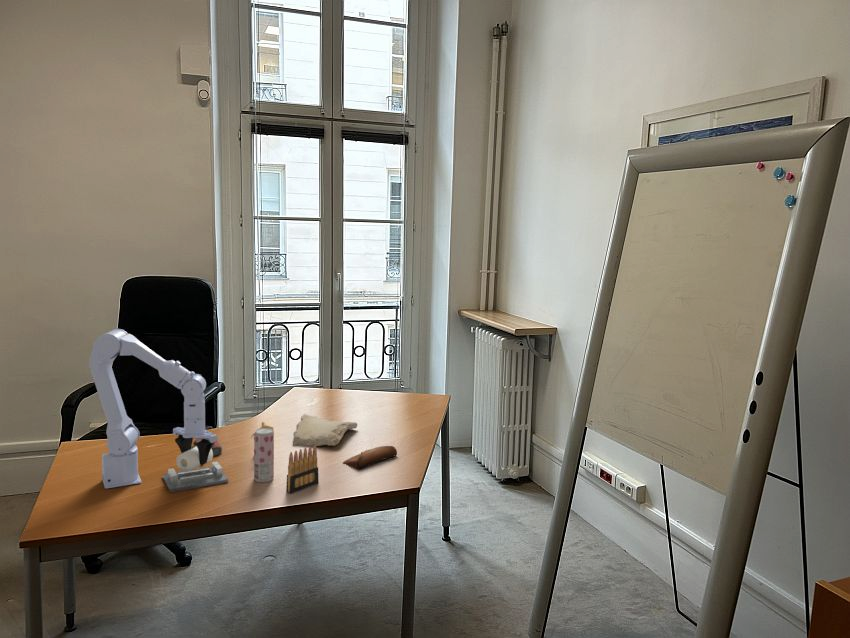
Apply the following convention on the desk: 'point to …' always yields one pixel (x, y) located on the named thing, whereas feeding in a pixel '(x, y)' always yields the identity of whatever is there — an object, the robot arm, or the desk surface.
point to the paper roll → (190, 459)
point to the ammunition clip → (302, 470)
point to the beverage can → (263, 455)
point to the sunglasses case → (371, 456)
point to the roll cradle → (194, 478)
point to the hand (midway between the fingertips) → (195, 462)
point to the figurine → (264, 427)
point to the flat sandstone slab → (320, 431)
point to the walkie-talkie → (215, 448)
